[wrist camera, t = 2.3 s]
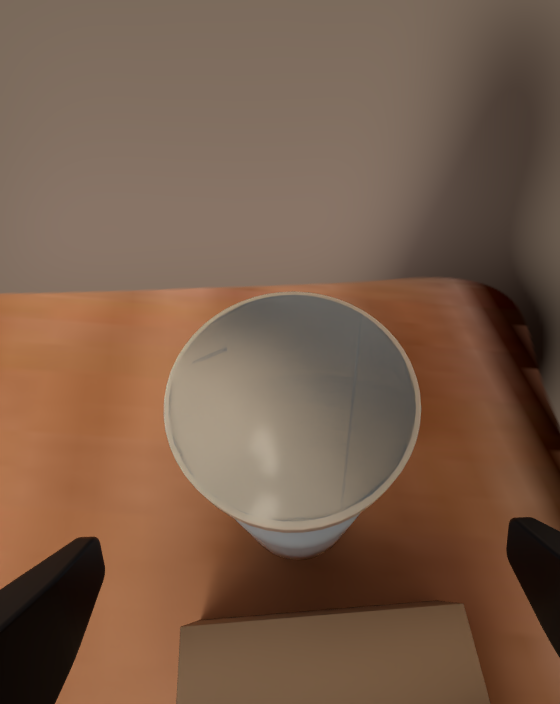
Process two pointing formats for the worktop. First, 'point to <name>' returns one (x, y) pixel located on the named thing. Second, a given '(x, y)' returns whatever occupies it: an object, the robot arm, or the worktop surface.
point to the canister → (292, 416)
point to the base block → (333, 657)
